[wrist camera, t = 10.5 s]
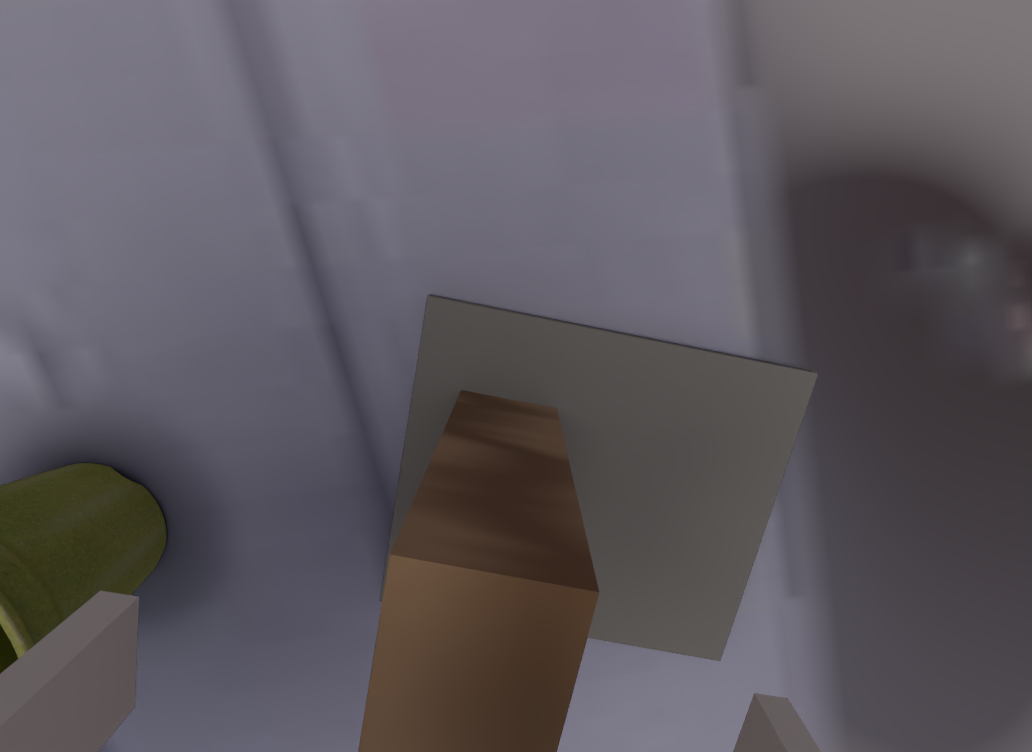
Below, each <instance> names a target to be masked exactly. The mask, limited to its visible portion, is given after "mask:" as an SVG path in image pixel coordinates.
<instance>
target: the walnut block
mask: <svg viewBox="0 0 1032 752" xmlns="http://www.w3.org/2000/svg"><path fill="white" fill-rule="evenodd" d="M598 596H599V588H598V584H597V580H596V575H595V571H594V567H593V562H592V558H591V554H590V550H589V545H588V541H587V537H586V532H585V528H584V524H583V520H582V515H581V511H580V507H579V502H578V498H577V494H576V489H575V485H574V481H573V477H572V472H571V468H570V464H569V459H568V455H567V451H566V447H565V442H564V438H563V434H562V429H561V425H560V421H559V416H558V412H557V408H552V407H547V406H542V405H537V404H532V403H527V402H521V401H516V400H511V399H506V398H501V397H495V396H490V395H485V394H480V393H475V392H470V391H464V390H461V391H460V394H459V396H458V398H457V401H456V403H455V405H454V408H453V410H452V412H451V414H450V417H449V419H448V421H447V424H446V426H445V428H444V431H443V433H442V435H441V438H440V440H439V442H438V445H437V447H436V449H435V451H434V454H433V456H432V458H431V461H430V463H429V465H428V468H427V470H426V472H425V475H424V477H423V479H422V481H421V484H420V486H419V488H418V491H417V493H416V495H415V498H414V500H413V502H412V505H411V507H410V509H409V512H408V514H407V516H406V518H405V521H404V523H403V525H402V528H401V530H400V532H399V535H398V537H397V539H396V542H395V544H394V546H393V548H392V551H391V553H390V557H389V563H388V569H387V576H386V582H385V588H384V595H383V601H382V607H381V613H380V620H379V626H378V632H377V638H376V645H375V651H374V657H373V664H372V670H371V676H370V682H369V689H368V695H367V701H366V707H365V714H364V720H363V726H362V733H361V739H360V745H359V751H358V752H557V749H558V745H559V741H560V738H561V734H562V730H563V726H564V723H565V719H566V715H567V712H568V708H569V704H570V700H571V697H572V693H573V689H574V685H575V682H576V678H577V674H578V671H579V667H580V663H581V659H582V656H583V652H584V648H585V644H586V641H587V637H588V633H589V630H590V626H591V622H592V618H593V615H594V611H595V607H596V603H597V600H598Z"/></svg>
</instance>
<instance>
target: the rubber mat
mask: <svg viewBox="0 0 1032 752" xmlns="http://www.w3.org/2000/svg"><path fill="white" fill-rule="evenodd" d="M817 376H818V374H817V373H815V372H813V371H810V370H806V369H801V368H796V367H791V366H786V365H781V364H776V363H771V362H766V361H761V360H756V359H751V358H746V357H741V356H736V355H731V354H726V353H721V352H716V351H711V350H706V349H701V348H696V347H691V346H686V345H681V344H675V343H670V342H665V341H660V340H655V339H650V338H645V337H640V336H635V335H630V334H625V333H620V332H615V331H610V330H605V329H600V328H595V327H590V326H585V325H580V324H575V323H570V322H565V321H560V320H555V319H550V318H545V317H540V316H535V315H530V314H525V313H520V312H515V311H510V310H505V309H500V308H495V307H490V306H485V305H480V304H475V303H470V302H465V301H460V300H455V299H450V298H445V297H440V296H435V295H428V297H427V304H426V310H425V316H424V323H423V329H422V335H421V342H420V348H419V354H418V361H417V367H416V373H415V380H414V386H413V392H412V399H411V405H410V411H409V418H408V424H407V430H406V437H405V443H404V449H403V456H402V462H401V468H400V475H399V481H398V487H397V494H396V500H395V506H394V513H393V519H392V525H391V532H390V538H389V544H388V551H387V557H386V563H385V570H384V576H383V582H382V589H381V595H380V601H383V595H384V588H385V582H386V576H387V569H388V563H389V557H390V553H391V551H392V548H393V546H394V544H395V542H396V539H397V537H398V535H399V532H400V530H401V528H402V525H403V523H404V521H405V518H406V516H407V514H408V512H409V509H410V507H411V505H412V502H413V500H414V498H415V495H416V493H417V491H418V488H419V486H420V484H421V481H422V479H423V477H424V475H425V472H426V470H427V468H428V465H429V463H430V461H431V458H432V456H433V454H434V451H435V449H436V447H437V445H438V442H439V440H440V438H441V435H442V433H443V431H444V428H445V426H446V424H447V421H448V419H449V417H450V414H451V412H452V410H453V408H454V405H455V403H456V401H457V398H458V396H459V394H460V391H461V390H464V391H470V392H475V393H480V394H485V395H490V396H495V397H501V398H506V399H511V400H516V401H521V402H527V403H532V404H537V405H542V406H547V407H552V408H557V412H558V416H559V421H560V425H561V429H562V434H563V438H564V442H565V447H566V451H567V455H568V459H569V464H570V468H571V472H572V477H573V481H574V485H575V489H576V494H577V498H578V502H579V507H580V511H581V515H582V520H583V524H584V528H585V532H586V537H587V541H588V545H589V550H590V554H591V558H592V562H593V567H594V571H595V575H596V580H597V584H598V588H599V596H598V600H597V603H596V607H595V611H594V615H593V618H592V622H591V626H590V630H589V633H588V637H587V638H593V639H598V640H604V641H610V642H615V643H621V644H627V645H632V646H638V647H644V648H649V649H655V650H660V651H666V652H672V653H677V654H683V655H689V656H694V657H700V658H706V659H711V660H717V661H720V660H721V657H722V654H723V651H724V648H725V645H726V643H727V640H728V637H729V634H730V631H731V628H732V625H733V622H734V619H735V616H736V613H737V610H738V607H739V604H740V601H741V599H742V596H743V593H744V590H745V587H746V584H747V581H748V578H749V575H750V572H751V569H752V566H753V563H754V560H755V557H756V555H757V552H758V549H759V546H760V543H761V540H762V537H763V534H764V531H765V528H766V525H767V522H768V519H769V516H770V513H771V510H772V508H773V505H774V502H775V499H776V496H777V493H778V490H779V487H780V484H781V481H782V478H783V475H784V472H785V469H786V466H787V464H788V461H789V458H790V455H791V452H792V449H793V446H794V443H795V440H796V437H797V434H798V431H799V428H800V425H801V422H802V420H803V417H804V414H805V411H806V408H807V405H808V402H809V399H810V396H811V393H812V390H813V387H814V384H815V381H816V378H817Z"/></svg>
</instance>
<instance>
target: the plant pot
mask: <svg viewBox="0 0 1032 752" xmlns="http://www.w3.org/2000/svg"><path fill="white" fill-rule="evenodd" d="M166 536H167V533H166V525H165V520H164V517H163V514H162V512H161V510H160V508H159V506H158V504H157V502H156V501H155V499H154V498H153V496H152V495H151V494H150V493H149V492H148V490H147V489H146V488H145V487H143V486H142V485H140V484H138V483H135V482H133V481H131V480H129V479H127V478H125V477H123V476H122V475H120V474H119V473H117V472H116V471H115V470H114V469H113V468H112V467H109V466H105V465H101V464H94V463H78V464H72V465H68V466H64V467H61V468H57V469H54V470H50V471H46V472H43V473H40V474H36V475H33V476H30V477H27V478H24V479H21V480H18V481H14V482H11V483H8V484H4V485H1V486H0V674H1V673H2V672H3V671H4V670H6V669H7V668H8V667H9V666H10V665H12V664H13V663H14V662H15V661H16V660H18V659H19V658H20V657H21V656H22V655H24V654H25V653H26V652H27V651H28V650H30V649H31V648H32V647H33V646H34V645H36V644H37V643H38V642H39V641H40V640H42V639H43V638H44V637H45V636H46V635H48V634H49V633H50V632H51V631H52V630H54V629H55V628H56V627H57V626H58V625H60V624H61V623H62V622H63V621H64V620H66V619H67V618H68V617H69V616H70V615H72V614H73V613H74V612H75V611H76V610H78V609H79V608H80V607H81V606H82V605H84V604H85V603H86V602H87V601H89V600H90V599H91V598H92V597H93V596H95V595H96V594H97V593H98V592H99V591H106V592H113V593H119V594H125V595H132V594H133V592H134V591H135V590H136V589H137V588H138V587H139V586H140V585H141V583H142V582H143V581H144V580H145V579H146V578H147V577H148V576H149V574H150V573H151V572H152V571H153V570H154V568H155V567H156V565H157V563H158V561H159V559H160V557H161V555H162V553H163V551H164V549H165V545H166Z"/></svg>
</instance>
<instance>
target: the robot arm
mask: <svg viewBox="0 0 1032 752" xmlns="http://www.w3.org/2000/svg"><path fill="white" fill-rule="evenodd" d="M138 613H139V597H138V596H132V595H125V594H119V593H113V592H106V591H99V592H98V593H97V594H96V595H95V596H93V597H92V598H91V599H90V600H89V601H87V602H86V603H85V604H84V605H82V606H81V607H80V608H79V609H78V610H76V611H75V612H74V613H73V614H72V615H70V616H69V617H68V618H67V619H66V620H64V621H63V622H62V623H61V624H60V625H58V626H57V627H56V628H55V629H54V630H52V631H51V632H50V633H49V634H48V635H46V636H45V637H44V638H43V639H42V640H40V641H39V642H38V643H37V644H36V645H34V646H33V647H32V648H31V649H30V650H28V651H27V652H26V653H25V654H24V655H22V656H21V657H20V658H19V659H18V660H16V661H15V662H14V663H13V664H12V665H10V666H9V667H8V668H7V669H6V670H4V671H3V672H2V673H1V674H0V752H98V751H99V750H100V749H101V748H102V746H103V745H104V744H105V743H106V742H107V740H108V739H109V738H110V737H111V735H112V734H113V733H114V732H115V731H116V729H117V728H118V727H119V726H120V724H121V723H122V722H123V721H124V720H125V718H126V717H127V716H128V715H129V714H130V712H131V711H132V710H133V709H134V707H135V693H136V666H137V640H138ZM733 752H821V751H820V749H819V747H818V746H817V744H816V743H815V741H814V739H813V738H812V736H811V735H810V733H809V731H808V730H807V728H806V727H805V725H804V723H803V722H802V720H801V719H800V717H799V715H798V714H797V712H796V711H795V709H794V708H793V706H792V704H791V703H790V701H789V700H788V698H782V697H776V696H770V695H763V694H757V693H754V696H753V699H752V701H751V704H750V707H749V710H748V712H747V715H746V718H745V721H744V723H743V726H742V729H741V732H740V734H739V737H738V740H737V743H736V745H735V748H734V751H733Z"/></svg>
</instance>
